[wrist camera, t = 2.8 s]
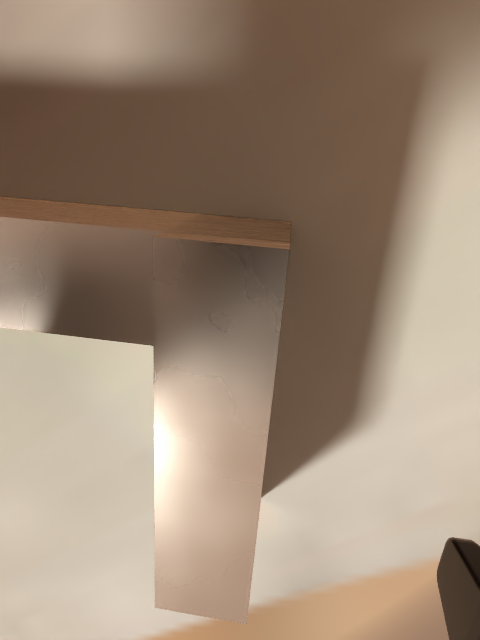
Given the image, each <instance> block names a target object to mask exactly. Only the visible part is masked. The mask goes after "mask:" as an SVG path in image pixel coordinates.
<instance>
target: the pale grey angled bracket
mask: <svg viewBox="0 0 480 640" xmlns="http://www.w3.org/2000/svg"><path fill="white" fill-rule="evenodd" d="M290 233H291V222H288V221H277V220H265V219H254V218H242V217H231V216H219V215H208V214H196V213H185V212H174V211H162V210H151V209H139V208H128V207H116V206H105V205H93V204H82V203H71V202H59V201H48V200H36V199H25V198H13V197H2V196H0V327H2V328H10V329H18V330H27V331H35V332H43V333H52V334H60V335H68V336H77V337H85V338H93V339H102V340H110V341H118V342H127V343H135V344H143V345H152V346H154V505H155V608H160V609H165V610H171V611H176V612H182V613H187V614H193V615H198V616H204V617H209V618H215V619H220V620H226V621H231V622H237V623H242V624H246V623H247V614H248V606H249V597H250V589H251V580H252V571H253V563H254V554H255V545H256V537H257V528H258V519H259V511H260V502H261V493H262V485H263V476H264V467H265V459H266V450H267V441H268V433H269V424H270V415H271V407H272V398H273V390H274V381H275V372H276V364H277V355H278V346H279V338H280V329H281V320H282V312H283V303H284V294H285V286H286V277H287V268H288V260H289V251H290Z"/></svg>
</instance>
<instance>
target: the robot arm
mask: <svg viewBox="0 0 480 640" xmlns="http://www.w3.org/2000/svg"><path fill="white" fill-rule="evenodd" d="M437 582H438V588H439V592H440V597H441V602H442V607H443V612H444V616H445V621H446V626H447V631H448V635H449V640H480V546H479V545H478V544H477V543H475V542H474V541H472V540H467V539H460V538H454V537H452V538H449V539H448V540H447V542H446V544H445V547H444V550H443V553H442V556H441V559H440V562H439V565H438V569H437Z"/></svg>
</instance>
